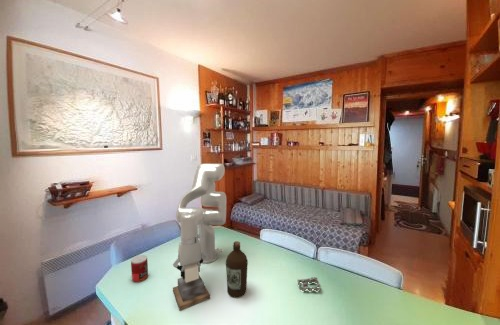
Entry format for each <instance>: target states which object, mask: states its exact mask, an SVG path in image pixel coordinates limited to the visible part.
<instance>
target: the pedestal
mask: <svg viewBox="0 0 500 325" xmlns="http://www.w3.org/2000/svg"><path fill="white" fill-rule="evenodd" d="M172 293H173V296H174V299H175V301H176V304H177V307H178V310H179V311H180V312H181V311H183V310H185V309H188V308H190V307H193V306H195V305H198V304H201V303H202V302H205V301H208V300H210V299H211V294H210V292H209V290H208V288H207V287H206V285H205V282H204V281H203V279H202V277H201V275H200V274H199V279H196V280H193V281H190V282H187V283H186V282H185V280H183V278H182V277H180V278H177V285H176V286H173V287H172Z"/></svg>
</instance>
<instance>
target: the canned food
mask: <svg viewBox="0 0 500 325" xmlns="http://www.w3.org/2000/svg"><path fill="white" fill-rule="evenodd" d="M148 265H149V264H148V256H147V255H145V254H139V255H136V256H134V257H132V258H131V260H130V269H131V279H132V281H133V283H140V282H143V281H145V280H146V279H147V278H148V276H149V269H148V268H149V267H148Z"/></svg>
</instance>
